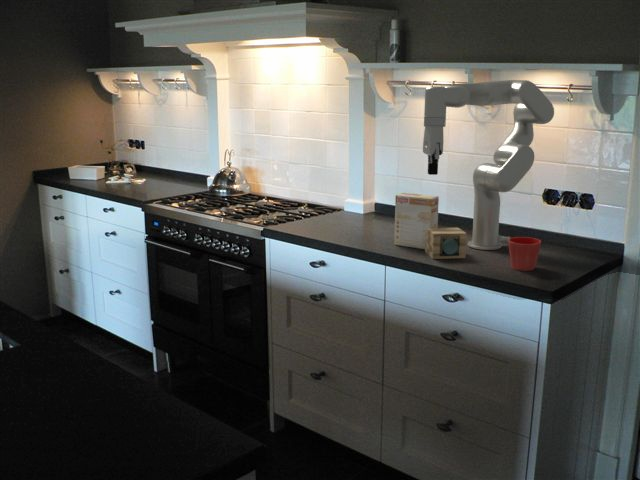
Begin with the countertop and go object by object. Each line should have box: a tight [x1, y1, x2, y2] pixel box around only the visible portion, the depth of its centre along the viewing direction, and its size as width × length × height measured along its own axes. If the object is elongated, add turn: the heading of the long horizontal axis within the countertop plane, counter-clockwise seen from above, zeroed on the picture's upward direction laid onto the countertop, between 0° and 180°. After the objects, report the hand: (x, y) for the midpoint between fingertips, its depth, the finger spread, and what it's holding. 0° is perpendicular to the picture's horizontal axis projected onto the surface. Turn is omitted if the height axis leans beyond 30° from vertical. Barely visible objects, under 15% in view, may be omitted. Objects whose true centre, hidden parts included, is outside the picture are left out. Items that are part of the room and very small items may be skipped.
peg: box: [442, 239, 458, 254], centre depth 256 cm, size 11×6×6 cm, turn 8°
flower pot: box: [507, 236, 542, 272], centre depth 240 cm, size 11×11×10 cm
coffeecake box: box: [393, 192, 440, 250], centre depth 269 cm, size 15×7×20 cm, turn 56°
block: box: [424, 226, 468, 260], centre depth 256 cm, size 10×12×9 cm
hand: (432, 174), depth 253 cm, fingers closed
